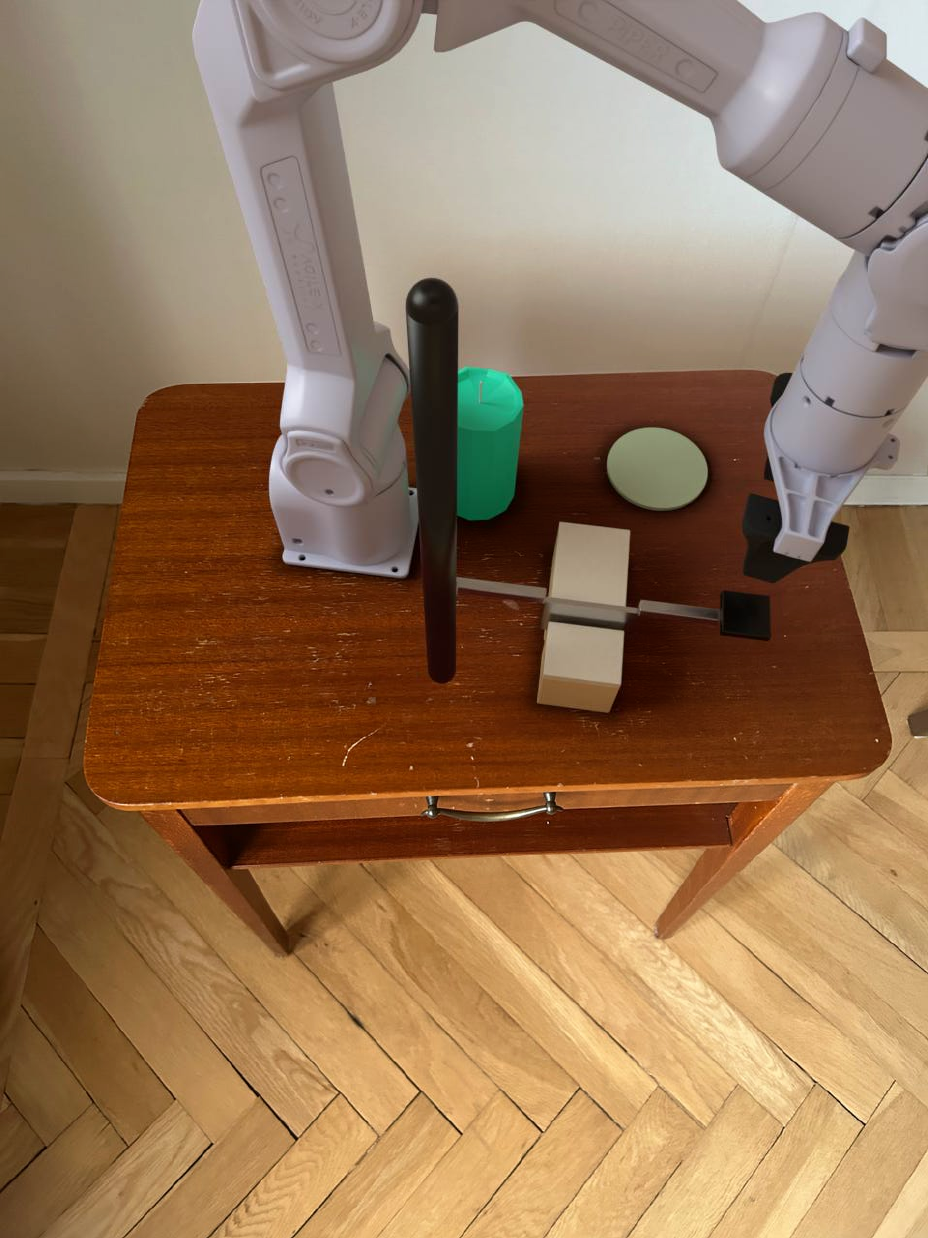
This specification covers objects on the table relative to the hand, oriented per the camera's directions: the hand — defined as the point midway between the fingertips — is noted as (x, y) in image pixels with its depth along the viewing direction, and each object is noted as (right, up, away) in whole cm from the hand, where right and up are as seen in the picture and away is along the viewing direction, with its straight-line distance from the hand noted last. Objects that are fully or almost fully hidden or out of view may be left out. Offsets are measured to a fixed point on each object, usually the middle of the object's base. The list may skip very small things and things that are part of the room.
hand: (770, 525), depth 56 cm
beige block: (-12, -10, +6) cm, 17 cm away
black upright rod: (-11, -9, +3) cm, 14 cm away
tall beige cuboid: (-11, -5, +9) cm, 15 cm away
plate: (-4, +6, +14) cm, 16 cm away
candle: (-18, +4, +13) cm, 23 cm away
